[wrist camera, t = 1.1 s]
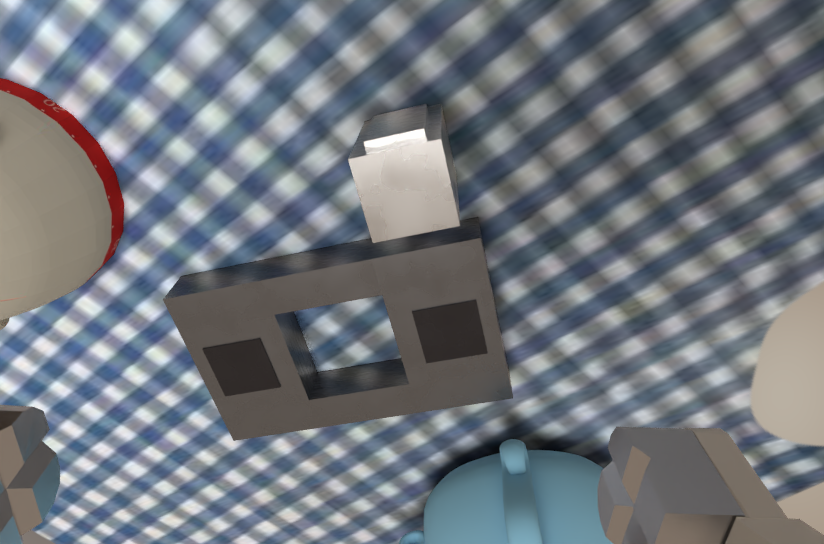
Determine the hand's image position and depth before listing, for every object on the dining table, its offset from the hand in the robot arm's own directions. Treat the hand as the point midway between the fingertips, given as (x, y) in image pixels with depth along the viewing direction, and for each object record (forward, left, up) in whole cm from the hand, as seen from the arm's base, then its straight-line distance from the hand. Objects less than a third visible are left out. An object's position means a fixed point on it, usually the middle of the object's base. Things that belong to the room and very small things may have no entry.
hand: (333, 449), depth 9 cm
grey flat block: (+8, +15, -28) cm, 33 cm away
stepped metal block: (+1, +4, -28) cm, 28 cm away
